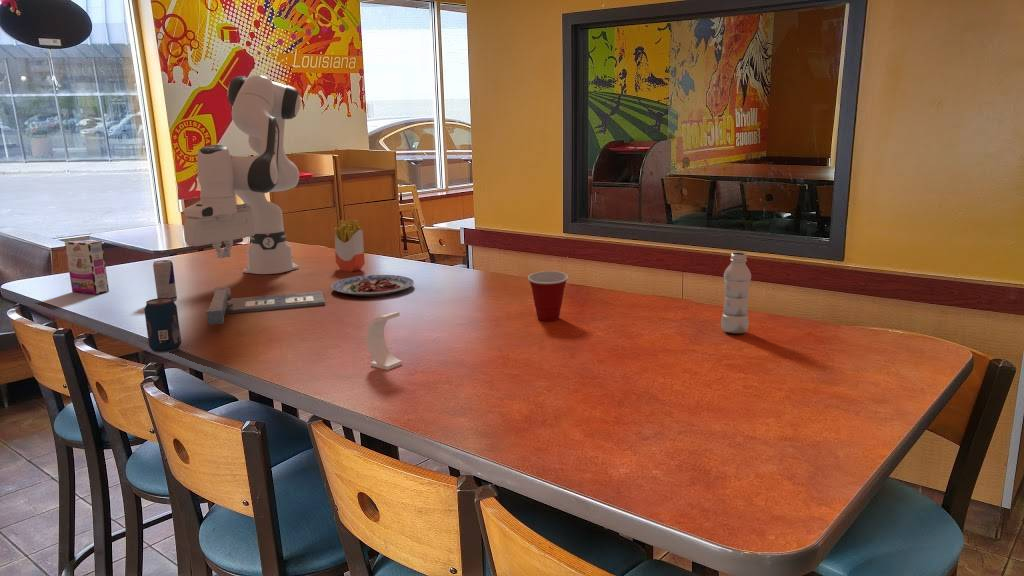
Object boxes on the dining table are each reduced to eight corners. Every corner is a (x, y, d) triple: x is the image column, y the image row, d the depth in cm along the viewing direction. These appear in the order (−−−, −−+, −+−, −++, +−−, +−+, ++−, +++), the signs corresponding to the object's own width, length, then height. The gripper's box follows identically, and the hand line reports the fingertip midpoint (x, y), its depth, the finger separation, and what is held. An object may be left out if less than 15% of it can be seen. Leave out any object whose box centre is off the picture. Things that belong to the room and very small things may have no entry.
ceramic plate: (406, 278, 245) (406, 269, 245) (421, 295, 221) (421, 286, 221) (328, 284, 237) (328, 276, 237) (335, 303, 214) (335, 293, 213)
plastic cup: (522, 322, 191) (521, 278, 188) (535, 311, 201) (535, 269, 198) (561, 325, 187) (561, 280, 185) (572, 315, 197) (573, 272, 194)
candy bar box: (110, 291, 231) (102, 241, 227) (96, 295, 226) (88, 243, 222) (85, 288, 235) (77, 239, 231) (71, 292, 230) (63, 241, 227)
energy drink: (180, 298, 221) (175, 259, 218) (170, 302, 216) (166, 263, 213) (164, 298, 221) (159, 259, 219) (154, 302, 216) (148, 263, 213)
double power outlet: (216, 303, 215) (215, 295, 214) (322, 294, 224) (321, 287, 223) (213, 315, 202) (212, 307, 201) (325, 305, 211) (324, 297, 210)
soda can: (150, 347, 174) (144, 299, 171) (182, 343, 177) (176, 295, 174) (149, 355, 168) (142, 305, 165) (181, 351, 170) (175, 302, 168)
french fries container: (355, 272, 254) (351, 222, 249) (335, 269, 260) (332, 219, 256) (365, 270, 257) (362, 220, 253) (345, 267, 264) (342, 218, 260)
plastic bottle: (734, 338, 175) (739, 257, 171) (714, 331, 181) (719, 252, 177) (753, 334, 178) (759, 254, 174) (733, 327, 184) (738, 250, 180)
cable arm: (231, 297, 211) (230, 285, 210) (225, 323, 184) (223, 310, 183) (215, 298, 210) (214, 286, 209) (206, 325, 183) (204, 311, 182)
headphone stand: (387, 370, 156) (384, 317, 153) (367, 365, 160) (364, 312, 157) (402, 364, 160) (399, 312, 157) (382, 359, 163) (379, 308, 160)
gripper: (243, 201, 204) (248, 249, 208) (177, 210, 188) (183, 262, 191) (258, 203, 201) (262, 252, 204) (192, 212, 184) (198, 265, 188)
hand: (224, 257), depth 198 cm, fingers closed
